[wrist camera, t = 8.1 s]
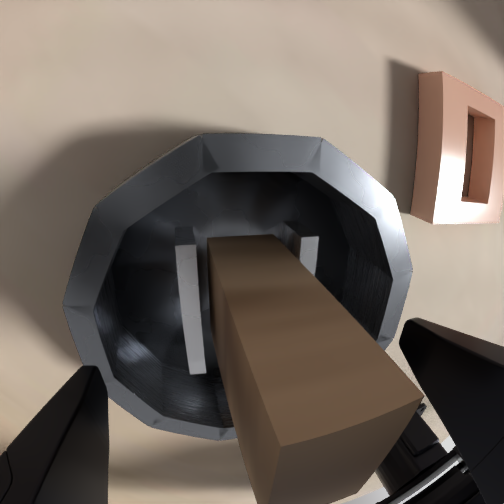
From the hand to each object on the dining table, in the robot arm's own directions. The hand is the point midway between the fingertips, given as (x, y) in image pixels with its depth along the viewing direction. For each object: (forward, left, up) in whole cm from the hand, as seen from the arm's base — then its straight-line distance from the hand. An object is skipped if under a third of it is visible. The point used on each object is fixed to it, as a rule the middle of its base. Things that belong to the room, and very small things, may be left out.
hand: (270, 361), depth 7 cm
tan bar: (0, 0, -4) cm, 4 cm away
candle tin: (0, 0, -5) cm, 5 cm away
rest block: (+6, -12, -5) cm, 14 cm away
